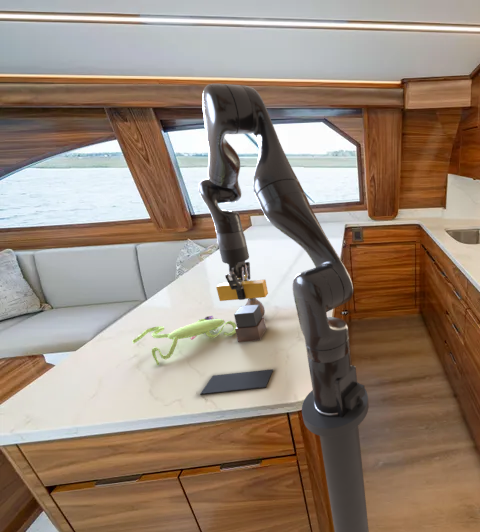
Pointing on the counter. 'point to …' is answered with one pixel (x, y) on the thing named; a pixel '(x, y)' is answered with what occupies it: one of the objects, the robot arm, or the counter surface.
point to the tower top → (248, 316)
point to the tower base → (251, 332)
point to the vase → (255, 302)
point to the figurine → (187, 333)
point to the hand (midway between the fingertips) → (244, 296)
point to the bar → (250, 287)
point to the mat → (237, 381)
